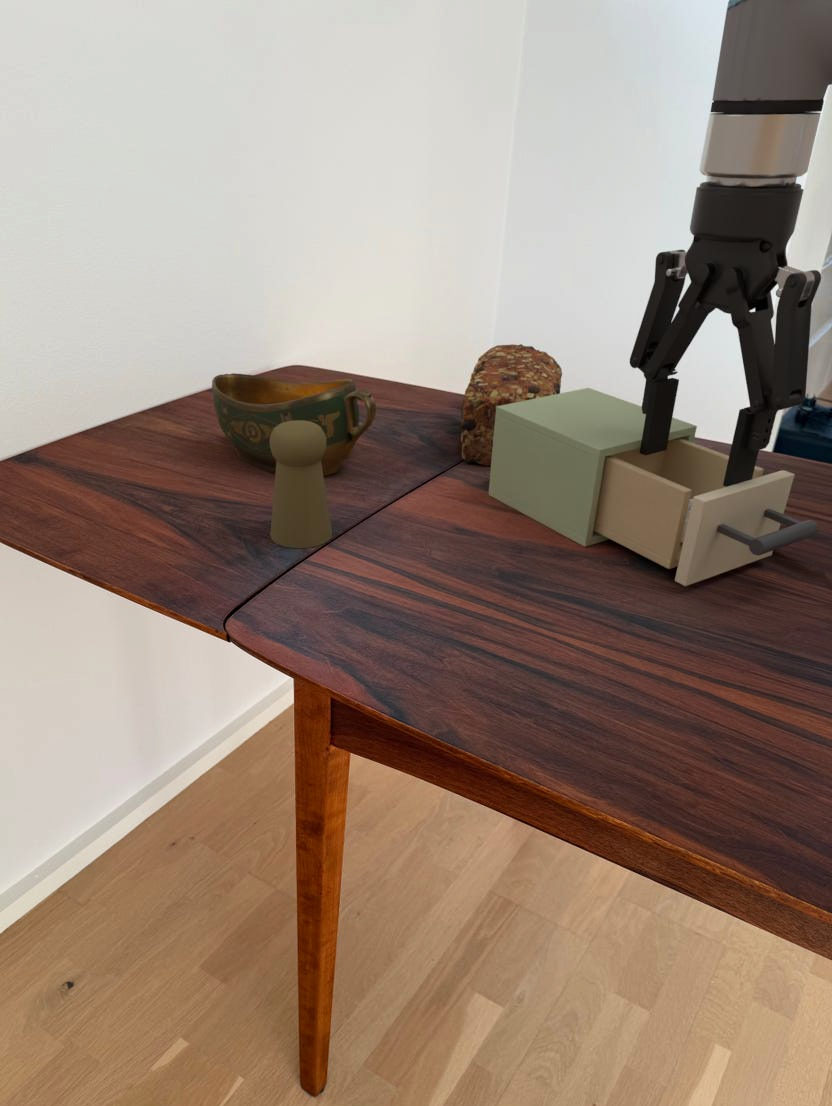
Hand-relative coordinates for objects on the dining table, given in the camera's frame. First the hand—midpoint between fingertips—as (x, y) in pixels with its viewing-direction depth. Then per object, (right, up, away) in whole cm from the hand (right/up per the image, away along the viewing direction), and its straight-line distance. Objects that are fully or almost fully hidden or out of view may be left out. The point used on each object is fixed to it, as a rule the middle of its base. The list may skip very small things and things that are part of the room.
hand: (693, 466), depth 78 cm
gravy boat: (-37, +5, +24) cm, 45 cm away
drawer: (+1, -7, +3) cm, 8 cm away
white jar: (0, -6, +3) cm, 7 cm away
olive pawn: (-35, -5, +8) cm, 36 cm away
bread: (-11, +9, +30) cm, 33 cm away
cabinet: (-7, -1, +13) cm, 15 cm away
